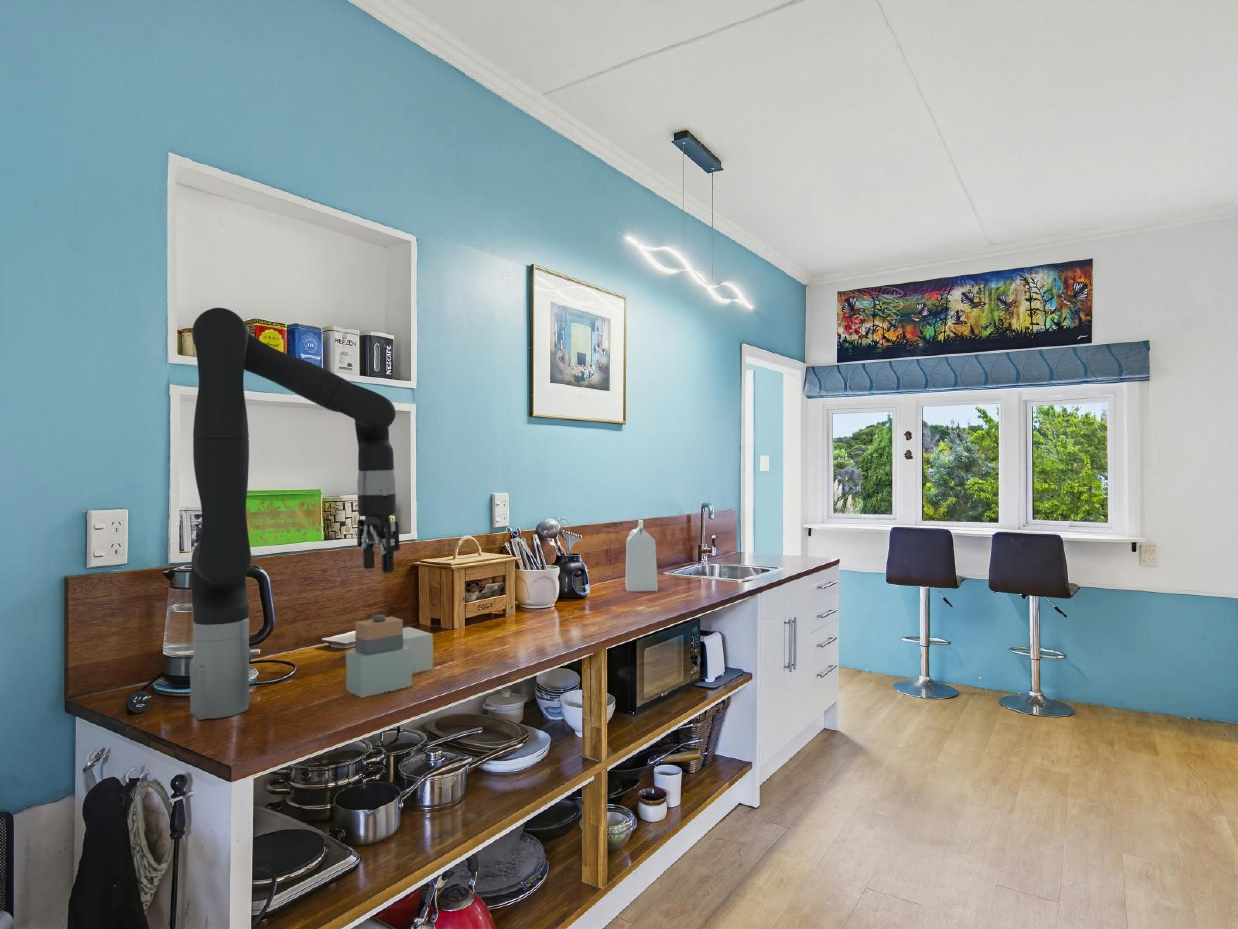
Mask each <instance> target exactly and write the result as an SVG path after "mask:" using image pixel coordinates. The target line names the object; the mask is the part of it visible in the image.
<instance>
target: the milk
mask: <svg viewBox="0 0 1238 929" xmlns="http://www.w3.org/2000/svg"><path fill="white" fill-rule="evenodd" d="M637 522H638V523H637V524H638V525H637V527H636V528H633V529H631V531H630V532H629V533H628V536H627V537H626V542H625V544H626V546H625V549H626V550H625V551H626V552H625V581H624V582H625V584H624V585H625V586H624V587H625V589H626V592H658V589H659V588H658V568H657V567H658V566H657V548H656V540H655V539H654V538H653V536H652V535H650V534H649V533H648V531H646V530H645V528H644V521H643V519H638V521H637Z"/></svg>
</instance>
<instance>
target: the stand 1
mask: <svg viewBox="0 0 1238 929" xmlns="http://www.w3.org/2000/svg"><path fill="white" fill-rule="evenodd" d="M345 654H346V656H345V657H346V658H345V660H346V662H345V664H346V673H345V674H346V675H345V676H346V678H345V681H346V684H345V685H346V688H345V689H346V690H345V691H346V692H348V691H349V693H351V694H352V695H355V696H357V697H358V698H361V699H362V698H367V697H371V695H372V696H376V695H380V694H384V692H385V693H389V692H388V691H390V692H394V691H397V689H399V690H402V689H401V688H403V689H407V687H408V688H411V687H410V686H412V687H413V674H412V648H410V647H407V646H404V645H403V649H398V650H393V651H387V652H382V653H376V654H371V655H364V654H362V653H359V652H356V651H355V649H353V650H349V651H348V650H347V651H346V653H345ZM366 696H367V697H366Z"/></svg>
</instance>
